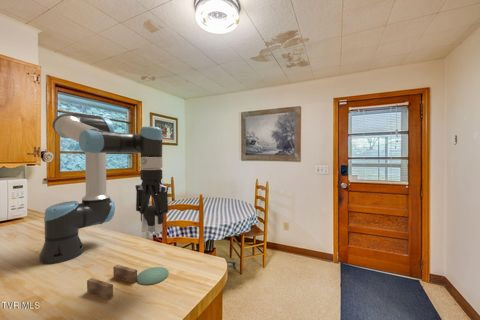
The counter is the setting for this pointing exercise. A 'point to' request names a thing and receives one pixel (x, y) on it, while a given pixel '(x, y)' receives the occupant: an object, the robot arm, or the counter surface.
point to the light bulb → (150, 217)
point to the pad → (152, 275)
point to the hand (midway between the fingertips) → (151, 231)
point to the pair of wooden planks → (105, 288)
